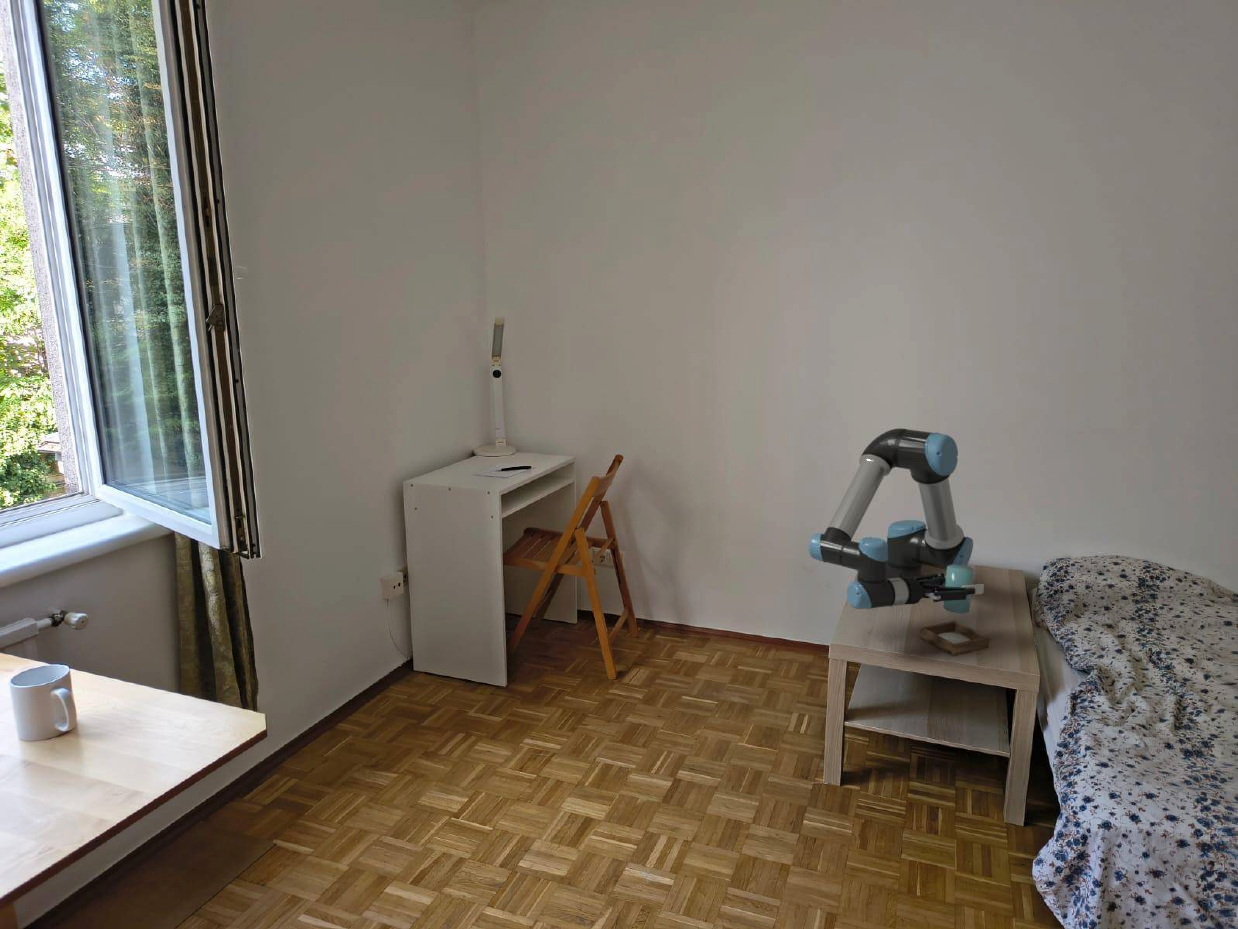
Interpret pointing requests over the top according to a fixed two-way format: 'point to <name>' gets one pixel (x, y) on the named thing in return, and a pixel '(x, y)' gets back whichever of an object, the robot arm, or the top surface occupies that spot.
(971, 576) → the teal cylinder
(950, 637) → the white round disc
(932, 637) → the walnut tray
